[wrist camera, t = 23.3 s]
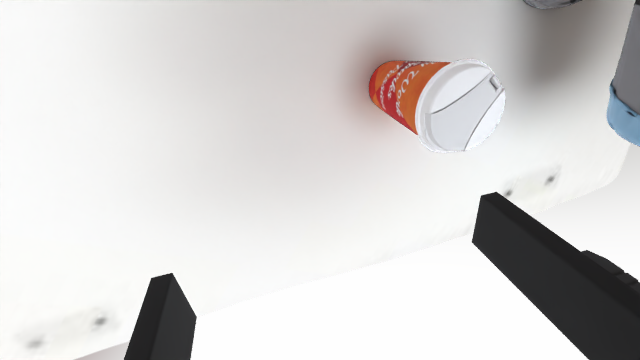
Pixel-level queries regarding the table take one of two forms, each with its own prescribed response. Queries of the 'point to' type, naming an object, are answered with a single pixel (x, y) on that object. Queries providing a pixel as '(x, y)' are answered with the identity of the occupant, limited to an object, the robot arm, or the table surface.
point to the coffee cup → (441, 100)
